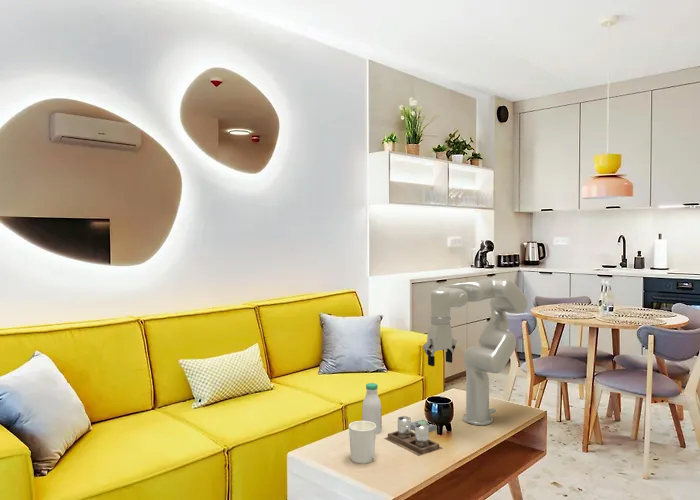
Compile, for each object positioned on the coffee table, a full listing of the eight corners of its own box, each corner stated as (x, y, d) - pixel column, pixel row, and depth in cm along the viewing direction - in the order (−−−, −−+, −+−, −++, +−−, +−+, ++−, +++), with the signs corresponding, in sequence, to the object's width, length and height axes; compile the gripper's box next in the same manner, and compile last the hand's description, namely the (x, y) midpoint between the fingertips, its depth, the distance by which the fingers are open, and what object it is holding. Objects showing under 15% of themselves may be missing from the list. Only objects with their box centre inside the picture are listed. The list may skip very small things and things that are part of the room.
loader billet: (404, 435, 212) (404, 413, 211) (413, 439, 207) (413, 417, 207) (395, 438, 209) (395, 416, 208) (403, 442, 205) (403, 420, 204)
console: (422, 426, 224) (423, 419, 224) (436, 432, 218) (436, 425, 218) (408, 430, 220) (408, 423, 220) (421, 436, 213) (421, 429, 213)
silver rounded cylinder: (423, 443, 203) (423, 420, 203) (431, 447, 199) (431, 424, 199) (412, 446, 201) (412, 423, 201) (420, 450, 197) (420, 427, 196)
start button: (422, 429, 221) (422, 420, 221) (428, 432, 218) (428, 422, 218) (416, 431, 219) (416, 421, 219) (422, 433, 216) (422, 424, 216)
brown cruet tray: (407, 434, 216) (407, 427, 216) (443, 451, 199) (443, 443, 199) (383, 441, 209) (383, 434, 209) (418, 459, 192) (418, 451, 192)
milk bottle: (380, 438, 212) (379, 387, 211) (360, 436, 214) (360, 386, 213) (382, 430, 220) (382, 382, 219) (364, 429, 221) (364, 381, 221)
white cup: (349, 452, 198) (349, 420, 198) (376, 453, 198) (375, 420, 197) (348, 464, 188) (348, 430, 188) (376, 464, 188) (376, 430, 188)
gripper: (449, 317, 222) (449, 359, 223) (417, 321, 213) (417, 365, 213) (462, 320, 216) (462, 362, 217) (430, 324, 206) (430, 369, 207)
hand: (440, 363), depth 215 cm, fingers open, 9 cm apart
